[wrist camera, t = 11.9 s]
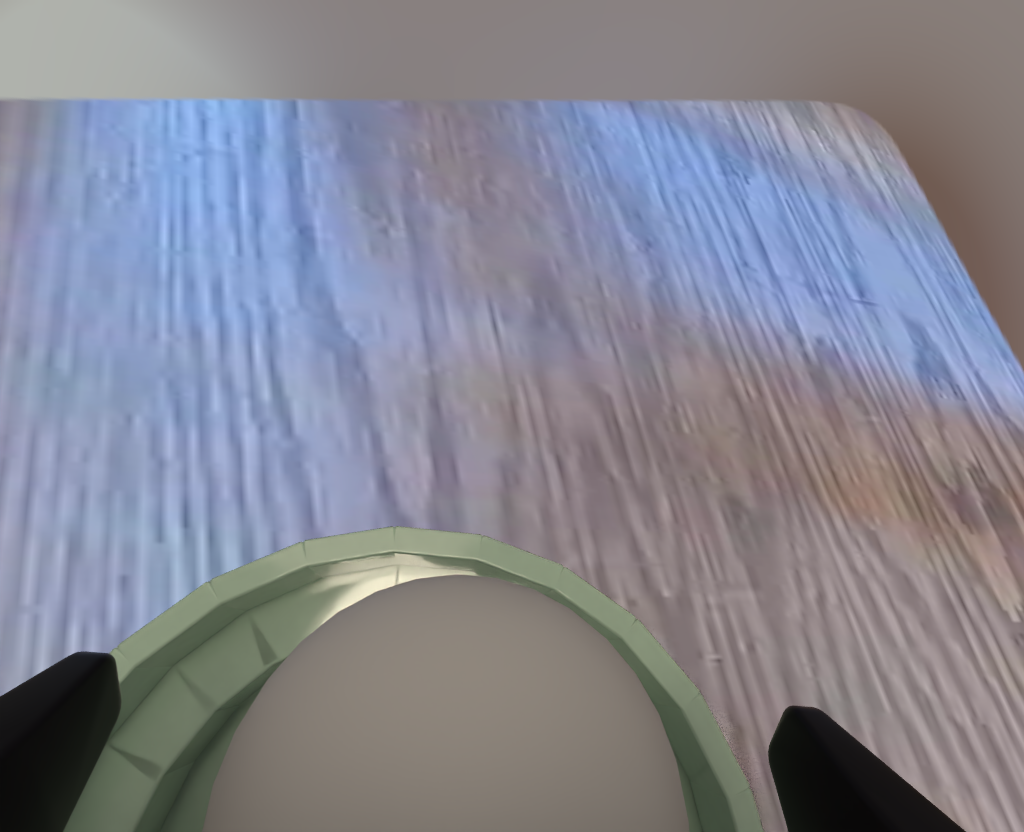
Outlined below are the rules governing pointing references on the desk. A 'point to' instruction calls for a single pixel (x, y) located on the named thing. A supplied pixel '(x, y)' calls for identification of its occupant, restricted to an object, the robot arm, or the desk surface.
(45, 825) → the robot arm
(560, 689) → the lightbulb
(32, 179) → the desk surface
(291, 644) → the bowl
